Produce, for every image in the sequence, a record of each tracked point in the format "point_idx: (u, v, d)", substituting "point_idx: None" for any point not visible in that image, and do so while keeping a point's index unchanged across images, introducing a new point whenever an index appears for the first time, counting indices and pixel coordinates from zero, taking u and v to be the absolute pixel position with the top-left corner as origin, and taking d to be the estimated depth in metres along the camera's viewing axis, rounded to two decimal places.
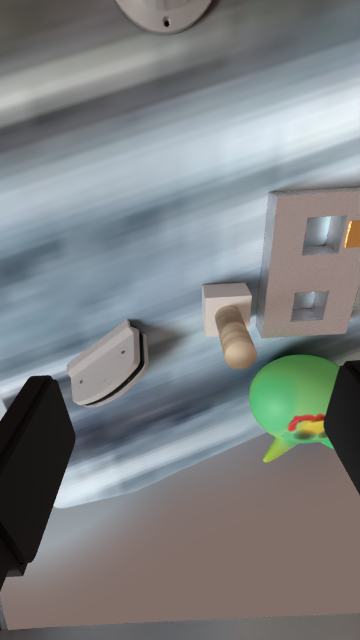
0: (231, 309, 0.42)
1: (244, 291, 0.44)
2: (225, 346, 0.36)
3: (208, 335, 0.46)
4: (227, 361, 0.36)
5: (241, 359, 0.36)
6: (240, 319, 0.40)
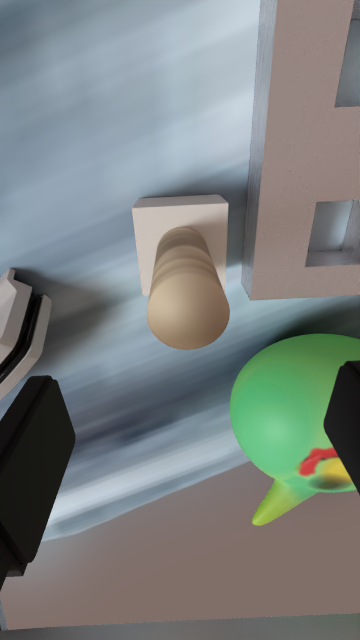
0: (185, 231, 0.20)
1: (214, 200, 0.22)
2: (150, 292, 0.14)
3: (148, 292, 0.24)
4: (154, 329, 0.14)
5: (190, 323, 0.14)
6: (200, 244, 0.18)
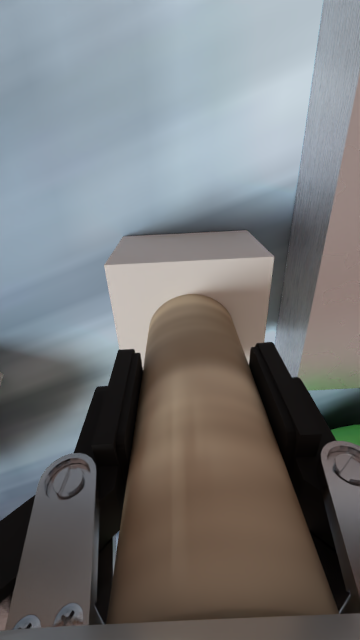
0: (199, 307, 0.11)
1: (245, 247, 0.13)
2: (119, 548, 0.05)
3: None
4: None
5: None
6: (230, 348, 0.09)
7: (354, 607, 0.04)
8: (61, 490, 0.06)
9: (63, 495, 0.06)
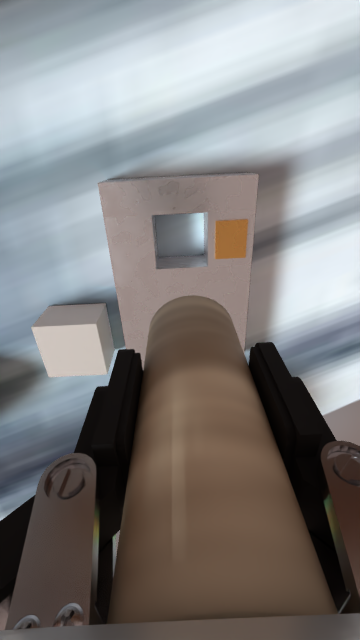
0: (199, 308, 0.11)
1: (91, 317, 0.32)
2: (119, 549, 0.05)
3: (52, 375, 0.34)
4: None
5: None
6: (230, 349, 0.09)
7: (354, 607, 0.04)
8: (61, 490, 0.06)
9: (63, 495, 0.06)
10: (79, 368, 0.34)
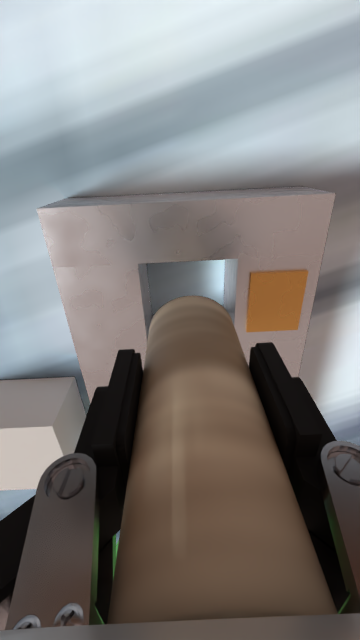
0: (199, 309, 0.11)
1: (48, 409, 0.20)
2: (119, 549, 0.05)
3: None
4: None
5: None
6: (230, 349, 0.09)
7: (354, 607, 0.04)
8: (61, 490, 0.06)
9: (63, 495, 0.06)
10: (32, 480, 0.22)
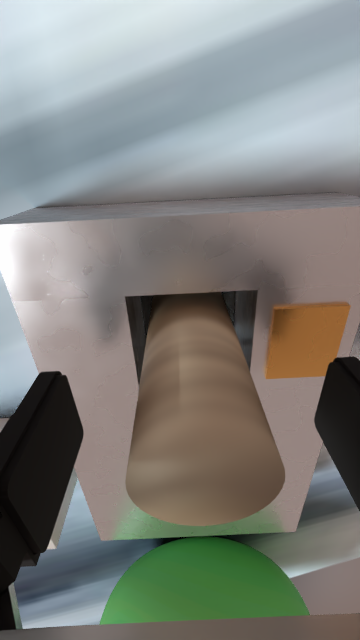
0: None
1: None
2: (134, 427, 0.08)
3: None
4: (141, 502, 0.07)
5: (208, 493, 0.07)
6: (217, 309, 0.12)
7: None
8: None
9: None
10: None
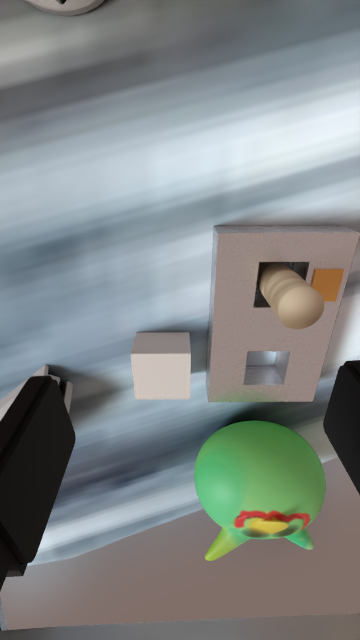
0: None
1: (183, 346, 0.35)
2: (278, 295, 0.26)
3: (139, 397, 0.36)
4: (281, 316, 0.25)
5: (301, 313, 0.25)
6: None
7: None
8: None
9: None
10: (165, 392, 0.36)
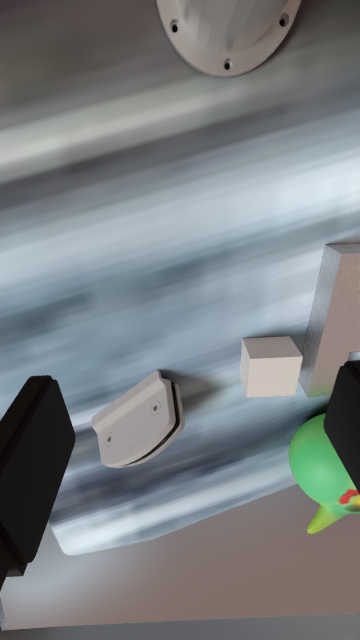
0: None
1: (292, 350, 0.39)
2: None
3: (250, 395, 0.41)
4: None
5: None
6: None
7: None
8: None
9: None
10: (274, 390, 0.41)
